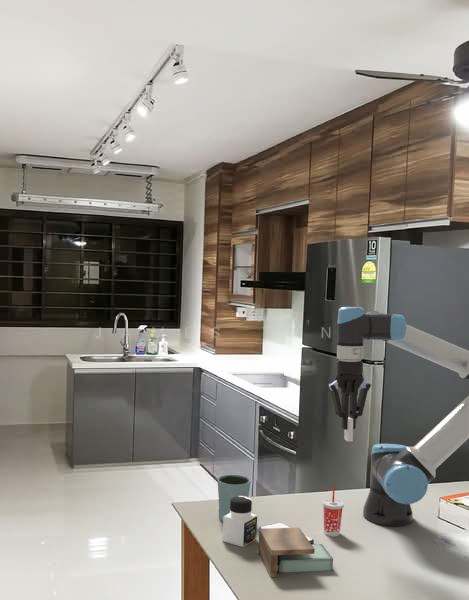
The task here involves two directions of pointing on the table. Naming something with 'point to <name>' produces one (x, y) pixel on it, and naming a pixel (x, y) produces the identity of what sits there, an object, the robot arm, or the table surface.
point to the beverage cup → (332, 516)
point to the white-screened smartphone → (280, 525)
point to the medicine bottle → (240, 522)
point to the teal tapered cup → (231, 491)
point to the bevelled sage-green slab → (306, 561)
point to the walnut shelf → (281, 546)
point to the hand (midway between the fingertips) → (348, 440)
